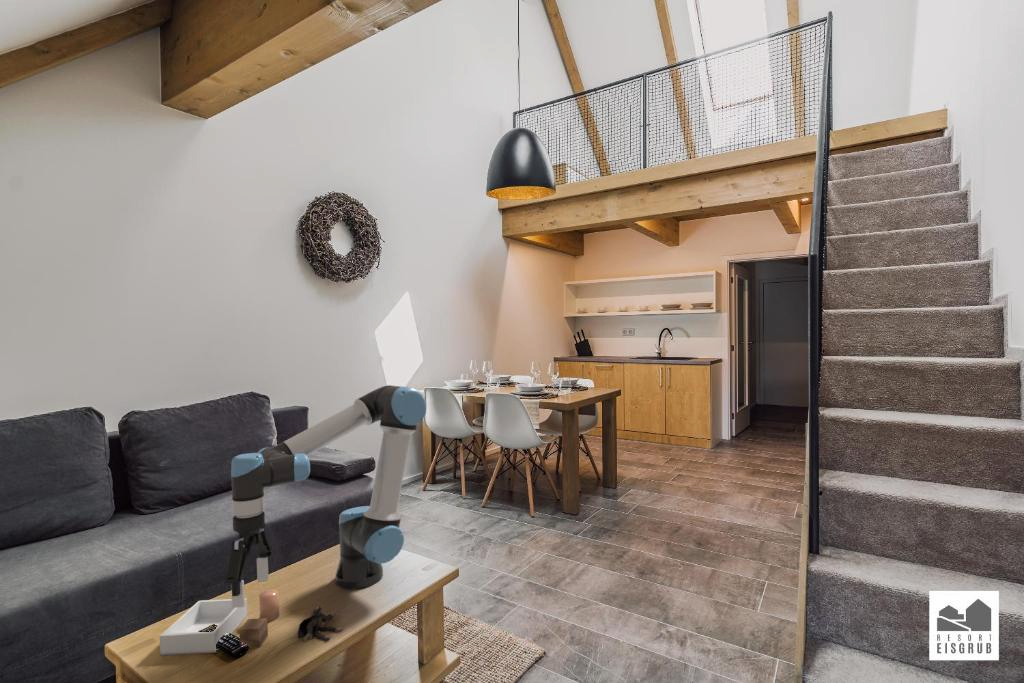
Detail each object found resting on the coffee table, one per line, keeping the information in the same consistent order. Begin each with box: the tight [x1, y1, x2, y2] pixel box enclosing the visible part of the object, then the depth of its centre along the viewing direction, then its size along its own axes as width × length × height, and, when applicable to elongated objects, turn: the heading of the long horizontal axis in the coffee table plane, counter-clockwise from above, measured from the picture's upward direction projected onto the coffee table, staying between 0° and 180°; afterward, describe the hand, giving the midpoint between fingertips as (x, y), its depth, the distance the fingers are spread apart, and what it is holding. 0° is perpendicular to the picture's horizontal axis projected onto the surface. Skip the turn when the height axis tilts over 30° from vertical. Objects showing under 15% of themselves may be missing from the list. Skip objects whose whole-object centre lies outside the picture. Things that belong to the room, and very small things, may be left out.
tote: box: [159, 597, 248, 656], centre depth 140 cm, size 14×18×5 cm
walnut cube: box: [238, 617, 269, 649], centre depth 136 cm, size 5×5×5 cm
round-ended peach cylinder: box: [258, 588, 280, 623], centre depth 148 cm, size 5×5×7 cm
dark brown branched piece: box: [297, 606, 344, 643], centre depth 141 cm, size 12×10×12 cm
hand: (251, 593), depth 136 cm, fingers open, 13 cm apart
